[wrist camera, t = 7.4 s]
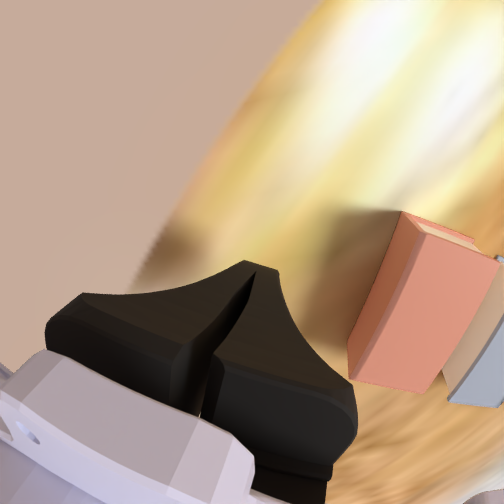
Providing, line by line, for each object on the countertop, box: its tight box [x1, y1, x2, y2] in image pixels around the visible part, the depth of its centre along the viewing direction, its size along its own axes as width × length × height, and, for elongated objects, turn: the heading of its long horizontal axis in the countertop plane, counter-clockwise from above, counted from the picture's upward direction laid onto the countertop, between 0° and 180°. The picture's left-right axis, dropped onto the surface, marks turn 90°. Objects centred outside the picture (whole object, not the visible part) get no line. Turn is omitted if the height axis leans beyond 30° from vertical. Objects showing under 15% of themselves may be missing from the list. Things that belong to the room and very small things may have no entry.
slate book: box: [442, 255, 504, 408], centre depth 12 cm, size 7×4×3 cm, turn 167°
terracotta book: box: [347, 211, 501, 394], centre depth 12 cm, size 7×4×3 cm, turn 167°
